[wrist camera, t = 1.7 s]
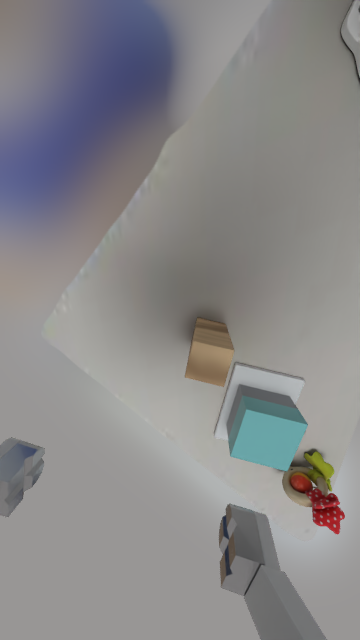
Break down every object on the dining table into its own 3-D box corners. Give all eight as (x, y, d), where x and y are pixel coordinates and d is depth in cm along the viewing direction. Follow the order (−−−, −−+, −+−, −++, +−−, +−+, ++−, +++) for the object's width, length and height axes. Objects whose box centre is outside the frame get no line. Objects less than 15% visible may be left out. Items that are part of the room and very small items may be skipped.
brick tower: (235, 362, 38) (242, 386, 31) (302, 378, 38) (327, 407, 30) (213, 433, 42) (215, 470, 35) (273, 449, 42) (289, 490, 34)
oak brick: (197, 317, 37) (193, 341, 26) (225, 323, 37) (234, 350, 25) (191, 343, 38) (184, 377, 27) (218, 350, 38) (223, 386, 27)
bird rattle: (290, 469, 45) (342, 477, 40) (287, 531, 36) (353, 550, 31) (280, 446, 44) (332, 450, 39) (274, 503, 35) (341, 519, 30)
